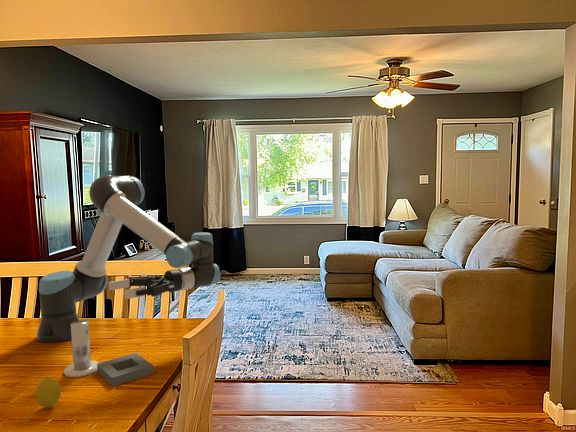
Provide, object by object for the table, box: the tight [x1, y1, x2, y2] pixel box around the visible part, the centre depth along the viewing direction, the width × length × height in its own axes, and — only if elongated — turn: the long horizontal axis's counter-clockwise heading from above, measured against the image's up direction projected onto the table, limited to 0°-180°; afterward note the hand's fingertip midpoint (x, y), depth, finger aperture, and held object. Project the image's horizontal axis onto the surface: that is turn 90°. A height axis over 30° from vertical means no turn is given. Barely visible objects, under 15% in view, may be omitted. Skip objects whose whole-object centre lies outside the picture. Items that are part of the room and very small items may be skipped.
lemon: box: [35, 376, 62, 409], centre depth 112 cm, size 6×6×8 cm
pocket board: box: [96, 352, 154, 387], centre depth 132 cm, size 13×12×2 cm
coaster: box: [63, 360, 100, 378], centre depth 134 cm, size 10×10×1 cm
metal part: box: [71, 319, 92, 371], centre depth 133 cm, size 5×5×14 cm
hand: (116, 290), depth 139 cm, fingers open, 13 cm apart
